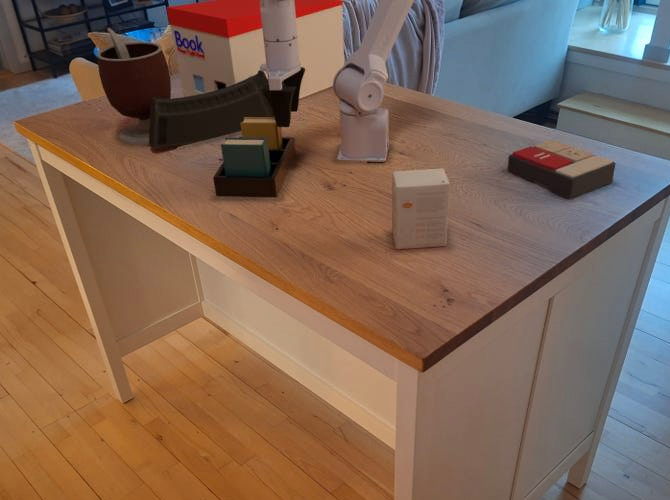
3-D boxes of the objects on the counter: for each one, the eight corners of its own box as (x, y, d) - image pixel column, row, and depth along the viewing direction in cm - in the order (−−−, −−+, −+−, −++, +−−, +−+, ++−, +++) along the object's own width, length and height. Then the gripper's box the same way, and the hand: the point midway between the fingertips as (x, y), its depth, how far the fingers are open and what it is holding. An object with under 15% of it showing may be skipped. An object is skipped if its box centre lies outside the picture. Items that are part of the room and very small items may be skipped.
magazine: (132, 113, 127) (260, 38, 132) (127, 109, 129) (253, 35, 135) (174, 185, 140) (289, 114, 145) (168, 180, 142) (282, 110, 147)
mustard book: (284, 158, 129) (280, 117, 124) (281, 164, 127) (276, 123, 121) (249, 157, 130) (244, 117, 125) (245, 163, 127) (240, 122, 122)
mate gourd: (192, 134, 142) (173, 34, 129) (133, 152, 136) (107, 48, 123) (159, 116, 152) (139, 21, 139) (103, 132, 145) (76, 34, 133)
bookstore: (183, 103, 158) (165, 7, 144) (288, 67, 177) (281, -21, 163) (239, 122, 146) (225, 19, 133) (345, 81, 165) (342, -13, 152)
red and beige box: (551, 136, 123) (617, 158, 112) (548, 159, 125) (613, 182, 115) (508, 151, 119) (572, 175, 108) (505, 174, 121) (568, 199, 111)
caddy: (296, 156, 130) (294, 137, 128) (277, 199, 116) (274, 178, 114) (242, 156, 132) (239, 136, 129) (216, 198, 118) (212, 177, 115)
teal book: (272, 183, 120) (267, 137, 114) (268, 191, 117) (263, 145, 112) (232, 182, 121) (225, 137, 115) (228, 190, 118) (220, 144, 113)
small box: (441, 229, 105) (445, 167, 99) (446, 247, 101) (451, 183, 94) (391, 232, 105) (391, 170, 99) (394, 250, 101) (395, 186, 94)
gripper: (266, 26, 116) (274, 104, 125) (247, 50, 105) (257, 133, 114) (305, 26, 115) (310, 104, 124) (289, 49, 104) (297, 133, 113)
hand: (287, 118), depth 119 cm, fingers open, 7 cm apart
